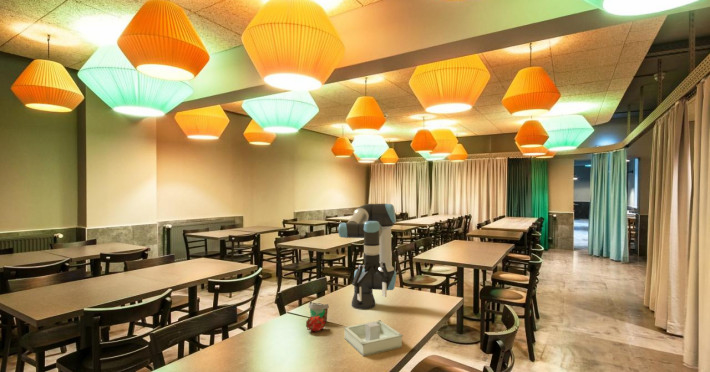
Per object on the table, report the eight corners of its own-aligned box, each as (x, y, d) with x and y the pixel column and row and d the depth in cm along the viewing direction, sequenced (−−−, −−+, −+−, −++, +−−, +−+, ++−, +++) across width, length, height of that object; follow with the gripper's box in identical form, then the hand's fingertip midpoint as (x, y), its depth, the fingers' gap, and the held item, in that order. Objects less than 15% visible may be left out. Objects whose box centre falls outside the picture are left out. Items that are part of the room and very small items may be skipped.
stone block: (374, 338, 166) (374, 321, 167) (379, 342, 162) (379, 325, 162) (365, 340, 164) (365, 323, 164) (370, 344, 160) (370, 327, 160)
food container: (304, 321, 190) (304, 303, 190) (310, 318, 195) (310, 300, 196) (322, 325, 184) (322, 307, 184) (328, 322, 190) (328, 303, 190)
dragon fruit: (303, 336, 175) (324, 334, 181) (310, 330, 170) (331, 328, 176) (301, 319, 180) (321, 318, 186) (308, 313, 175) (328, 312, 181)
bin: (380, 331, 177) (380, 320, 177) (402, 347, 158) (402, 335, 158) (343, 338, 168) (343, 327, 168) (362, 356, 149) (362, 343, 149)
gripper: (390, 250, 173) (390, 292, 172) (344, 254, 162) (345, 299, 162) (398, 252, 166) (398, 296, 166) (351, 257, 155) (351, 304, 155)
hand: (372, 298), depth 164 cm, fingers open, 13 cm apart
